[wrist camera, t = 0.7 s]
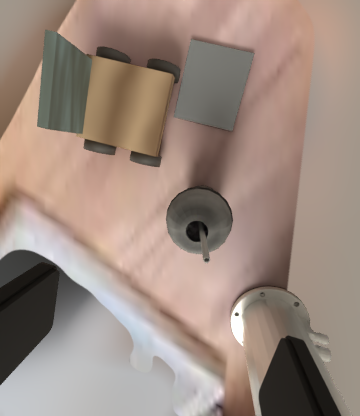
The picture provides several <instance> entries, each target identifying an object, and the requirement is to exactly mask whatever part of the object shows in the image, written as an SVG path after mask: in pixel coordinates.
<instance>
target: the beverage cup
mask: <svg viewBox="0 0 360 416" xmlns="http://www.w3.org/2000/svg"><path fill="white" fill-rule="evenodd" d="M166 221H167V222H166V223H167V228H168V233H169V235H170V237H171V238H172V240H173V242H174V243H175V244H176V245H178V246H179V247H180V248H181V249H183V250H185V251H187V252H189V253H194V254H202V255H203V261H204V262H205V263H208V262H210V257H209V252H211V251H213V250H216V249H217V248H219V247H220V246H221V245H222V244H223V243H224V242H225V240H226V238H227V237H228V235H229V233H230V231H231V227H232V222H233V218H232V211H231V208H230V206H229V204H228V202H227V201H226V200H225V199H224V198H223V197H222V196H221V195H220V194H219V193H218V192H216V191H214V190H213V189H212V188H210V187H208V186H203V185H201V186H196V187H194V188H189V189H186V190H184V191H183V192H181V193H179V194H178V195H177V196H176V197H175V198H174V199H173V200H172V201H171V203H170V205H169V207H168V210H167V217H166Z"/></svg>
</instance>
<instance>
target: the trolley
mask: <svg viewBox="0 0 360 416" xmlns="http://www.w3.org/2000/svg"><path fill="white" fill-rule="evenodd" d="M130 62H131V59H130V58H129V57H128V56H127V55H125V54H124V53H122V52H119V51H117V50H114V49H111V48H108V47H97V52H96V56H93V55H89V54H87V55H85V54H84V53H83V52H82V51H80V50H79V49H78V48H76V47H75V46H74V45H73V44H71V43H70V42H69V41H67V40H66V39H65V38H64V37H62V36H61V35H60V34H58V33H57V32H53V31H48V30H45V39H44V51H43V63H42V75H41V86H40V98H39V110H38V122H37V127H41V128H45V129H50V130H57V131H64V132H71V133H77V135H76V136H77V137H81V138H84V139H85V141H84V149H86V150H89V151H93V152H97V153H102V154H108V155H115V151H116V147H120V148H123V149H127V150H131V155H130V160H131V161H133V162H136V163H139V164H143V165H148V166H153V167H160V163H161V158H162V157H161V156H158V154H159V149H160V144H161V140H162V135H163V130H164V126H165V121H166V116H167V112H168V107H169V102H170V98H171V93H172V88H173V84H174V83H178V80H179V76H180V71H181V70H180V68H179V67H177V66H176V65H174V64H172V63H170V62H167V61H164V60H160V59H149V60H148V64H147V68H145V67H140V66H136V65H132V64H130Z"/></svg>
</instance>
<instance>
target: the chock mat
mask: <svg viewBox="0 0 360 416" xmlns="http://www.w3.org/2000/svg"><path fill="white" fill-rule="evenodd" d="M253 57H254V53H251V52H247V51H242V50H238V49H233V48H229V47H224V46H220V45H215V44H211V43H206V42H202V41H197V40H193V39H191V42H190V46H189V51H188V55H187V60H186V64H185V69H184V73H183V78H182V82H181V87H180V91H179V96H178V100H177V105H176V109H175V114H174V117H175V118H179V119H183V120H188V121H192V122H196V123H200V124H204V125H208V126H212V127H216V128H220V129H224V130H228V131H232V130H233V127H234V123H235V120H236V116H237V113H238V109H239V106H240V102H241V99H242V95H243V92H244V88H245V85H246V81H247V78H248V74H249V71H250V67H251V64H252V60H253Z"/></svg>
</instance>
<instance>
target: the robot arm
mask: <svg viewBox="0 0 360 416" xmlns="http://www.w3.org/2000/svg"><path fill="white" fill-rule="evenodd" d="M58 281H59V271H58V270H57V268H56V266H54V265H50V264H47V263H44V262H41V263H39V264H37V265H36V266H34V267H33V268H31V269H30V270H28V271H26V272H25V273H23V274H22V275H20V276H18V277H17V278H15V279H14V280H12V281H10V282H9V283H7V284H6V285H4V286H2V287H1V288H0V385H1V384H2V383H3V382H4V381H5V380H6V378H7V377H8V376H9V375H10V374H11V373H12V372H13V371H14V370H15V369H16V367H17V366H18V365H19V364H20V363H21V362H22V361H23V360H24V359H25V358H26V357H27V356H28V355H29V353H30V352H31V351H32V350H33V349H34V348H35V347H36V346H37V345H38V344H39V343H40V341H41V340H42V339H43V338H44V337H45V336H46V335H47V334H48V333H49V331H50V330H51V328H52V325H53V319H54V312H55V304H56V296H57V289H58ZM261 292H262V293H261ZM230 323H231V329H232V332H233V334H234V336H235V338H236V339H237V341H238V342H239V343H240V344H241V345H242V346H244V351H245V357H246V363H247V369H248V374H249V380H250V386H251V392H252V398H253V404H254V409H255V415H256V416H353V415H352V414H351V412H350V410H349V408H348V406H347V405H346V403H345V401H344V399H343V397H342V396H341V394H340V392H339V390H338V388H337V386H336V384H335V383H334V381H333V379H332V377H331V375H330V373H329V371H328V370H327V368H326V366H325V364H324V362H323V361H326V362H329V361H330V360H331V351H330V350H329V349H328V348H325V347H321V346H318V345H314V344H313V342H312V341H316V342H318V343H321V344H325V345H327V344H328V342H329V338H328V336H327V335H324V334H321V333H316V332H313V330H312V329H311V327H310V319H309V314H308V312H307V310H306V308H305V306H304V304H303V303H302V302H301V300H300V299H299V298H298V297H297V296H295V295H294V294H292V293H291V292H289V291H287V290H285V289H282V288H278V287H270V286H269V287H259V288H255V289H252V290H250V291H248V292H246V293H245V294H243V295H242V296H241V297H240V298H239V299H238V300H237V301H236V302H235V304H234V305H233V308H232V310H231V315H230Z"/></svg>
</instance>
